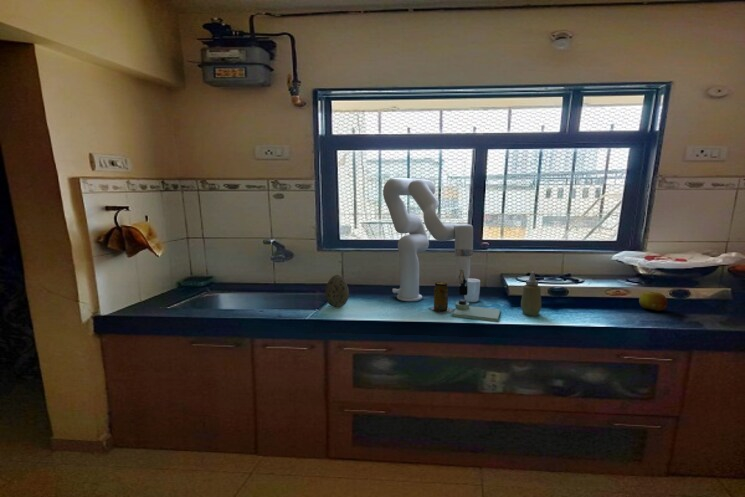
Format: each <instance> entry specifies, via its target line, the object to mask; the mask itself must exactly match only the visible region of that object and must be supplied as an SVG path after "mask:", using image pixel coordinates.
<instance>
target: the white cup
mask: <svg viewBox="0 0 745 497" xmlns="http://www.w3.org/2000/svg"><path fill="white" fill-rule="evenodd" d="M467 285H468V291H467V295H463V298H464V299H463V300H466V302H467V303H478V302H479V300H480V292H481V291H480V290H481V279H479V278H474V277H473V278H472V277H469V278H468V279H467Z"/></svg>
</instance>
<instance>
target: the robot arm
mask: <svg viewBox="0 0 745 497" xmlns="http://www.w3.org/2000/svg"><path fill="white" fill-rule="evenodd" d="M435 193H436V186H435V183H434V182H433V181H431V180H430V179H421V178H409V177H407V178H406V177H392V178H389V179H388V180H387V181H386V182H385V183H384V185H383V189H382V196H383V197H382V198H383V200H384V202H385V204H386V207H387V208H388V212H389V214H390V219H391V221H392V225H393V227H394V230H395V232H396V233H398V234H405V235H403V236H401V237H400V238H399V240H398V241H397V249H398V256H399V288H392V291H391V292H392V293H393V294H397V295H396V299H397V300H399V301H402V302H417V301H421V300H423V295H422V294H420V261H419V256H418V254H419V253H424V252H426V251H427V250H428V248H429V246H430V241H429V236H428V234H427V231H428V232H429V234H430V235H431V237H432V238H433V239H434V240H435V241H437V242H448V241H454V257H456V258H455V259H456V260H455V278H454V279H455V280H456V281H458V279H459V286H458V288H459V295H460V296H464V295H467V291H468V285H467V279H468V278H470V276H471V258H473V257H474V226H473V225H472V224H468V223H461V224H459V223H454V222H453V223H452V222H451V223H443V222H442V221H441V219H440V218H439V216H438V215H437V209H438V207H439V206H440V202H439V200H438V199H437V198H436V196H435ZM400 196H411V197H412V199H413V200H414V202H415V203H416V204H417V206H418V207H419V208H420V210H421V212H422V213H423V215H422V216H423V219H422V218H421V217H420V216H419V215H418V214H416V213H409V212H408V209H407V206H406V203H405V202H404V201H403V199H402V198H401V197H400ZM426 229H427V231H426Z"/></svg>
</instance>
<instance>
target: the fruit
mask: <svg viewBox="0 0 745 497" xmlns="http://www.w3.org/2000/svg"><path fill="white" fill-rule="evenodd" d="M638 303H639V305H640V307H641V308H642V309H645V310H651V311H656V312H657V311H659V312H661V311H664V310H666V309H667V307H668V299H667V296H666V295H665V294H663V293H661V292H655V291H643V292H642V293H641V294H640V295H639V298H638Z"/></svg>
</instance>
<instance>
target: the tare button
mask: <svg viewBox="0 0 745 497" xmlns="http://www.w3.org/2000/svg"><path fill="white" fill-rule="evenodd" d="M458 302H459V304H460V305H466V302H467V301H466V300H464V299H459V300H458Z"/></svg>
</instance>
